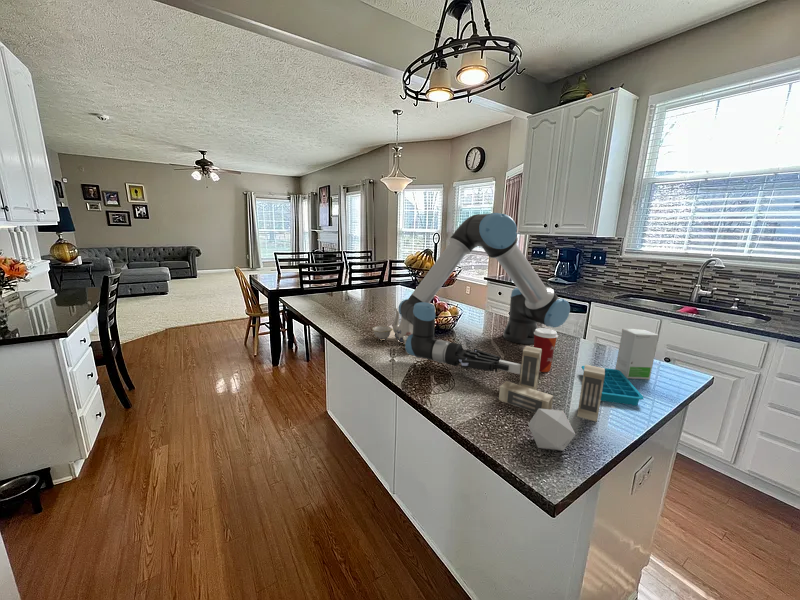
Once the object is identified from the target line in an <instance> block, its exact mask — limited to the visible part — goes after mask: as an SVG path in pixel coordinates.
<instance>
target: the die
mask: <svg viewBox="0 0 800 600" xmlns="http://www.w3.org/2000/svg"><path fill="white" fill-rule="evenodd" d="M527 425H528V427H529V430H530V433H531V434H532V437H533V440H534V442H535V444H536V446H537V448H538V449H546V450H553V451H561V452H562V451H564V450H566V448H567V446H568V445H569V444H570V442H571V441H572V440H573V439H574V437H575V436H576V433H575V430H574V429H573V427H572V425H571V423H570V421H569V419H568V417H567V415H566V413H565V412H564V410H558V409H552V410H549V409H538V410H537V412H536V413H534V415H533V416H532V418H531V419H530V421H529V422H528V424H527Z"/></svg>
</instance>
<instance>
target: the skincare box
mask: <svg viewBox="0 0 800 600" xmlns="http://www.w3.org/2000/svg"><path fill="white" fill-rule="evenodd" d="M658 341H659V334H658V333H656V332H652V331H649V330H647V329H638V328H622V329H621V336H620V342H619V346H618V353H617V356H616V357H617V358H616V362H615V368H614V369H616V370H619V371H621V372H622V373H623V374H624V376H625V377H626V378H627V379H631V380H632V379H634V380H650V379H651V375H652V371H653V366H654V361H655V357H656V351H657V345H658Z"/></svg>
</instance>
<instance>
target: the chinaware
mask: <svg viewBox="0 0 800 600" xmlns="http://www.w3.org/2000/svg"><path fill="white" fill-rule="evenodd" d="M394 310H395V316H394V318H393V319H394V320H393V322H392V327H390V326H389V325H385V326H383V325H376V326H375V327H371V330H372V331H373V334H374V337H375V338H377V339H378V340H379V339H386V340H387V339H388V338H389V337H390V336H391V331H393V333H394V337H395V339H396V340H397V341H398V340H399V341H400V342H404V343H405V344H406V340H407V338H408V336H409V335H411V334H413V325H412V324H411V323H410V322H409V321H407V320H405V319H404V318H403V317H402V316H401V315H400V313H399V310H398V308H394ZM400 316H401V317H400ZM400 318H401V319H400ZM399 321H400V323H399ZM405 344H404V345H405Z"/></svg>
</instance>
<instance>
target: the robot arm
mask: <svg viewBox="0 0 800 600" xmlns="http://www.w3.org/2000/svg"><path fill="white" fill-rule="evenodd" d="M517 231H518V228H517V224H516V222H515V220H514V219H513V218H512V217H511V216H510V215H508V214H505V213H502V212H500V213H499V212H492V213H479V214H473V215H471V216H469V217H467V218H466V219H465V220H464V221H463V222H462V223H461V224H460V225H459V226H458V227H457V228H456V230H455V231H454V232H453V234H452V235H451V236H450V238H449V239H448V240H449V243H448V245H447V246H446V248H445V249H444V250H443V251H442V253H441V254H440V255H439V257H438V258H437V260H436V261H435V263H434V264H433V265H432V266H431V268H430V269H429V271H427V273H426V274H425V276H424V278H423V279H421V281H420V283H419V284H417V287H416V288H415V289H414V291H413V292H412V293H411V295H410V296H409V298H406V299H404V300H401V302H400V303H399V305H398V307H397V309H398V311H399V316H402V317H403V318H404V319H405V320H407V321H409V322H410V323H411V324H412V325H413V334H411V335H409V336H408V338H407V340H406V344H404V348H405V352H406V353H407V354H408V355H410V356H414V357H416V358H420V359H425V360H430V361H433V362H437V363H439V364H447V365H450V366H453V367H458V366H459V365H460V364H461V366H460V367H461V368H462V369H472V370H473V369H474V370H480V371H481V370H482V371H488V372H494V373H497V372H498V370H500V371H503V372H508V373H512V374H517V375H520V374H521V365H522V363H517V362H512V361H508V360H503V359H501V356H499V355H496V354H492V353H489V352H486V351H483V350H480V349H478V348H473V350H472V349H464V348H463V345H462V344H460V343H457V342H450V341H448V340H445V339H444V340H443V339H437V338H435V328H436V327H435V325H436V307H435V305H434V304H433V303H431V301H432V300H433V299H434V297H435V296H436V294H438V292H439V291H440V289H441V288H442V286H444V284H445V282H447V280H448V279H449V278H450V276H451V274H452V273H453V272H454V271H455V269H456V268H457V267H458V266H459V264H460V263H461V261H462V260H463V259H464V257H465V256H466V255H470V254H471V253H472V251H473V250H474V249H475V248H477V247H480V248H482V249H483V251H484V252H485V253H486V254H487V256H488V257H489V258H490V259H496V261H497V262H498V264H499V265H500V266H501V268H502V269H503V270H504V272H505V273H506V274H507V275H508V277H509V279H510V280H511V281H512V283H513V284H514V285H515V287H516V288H514V289H512V290H511V295H510V304H509V315H508V322H507V324H506V326H505V328H504V330H503V334H502V335H503V336H502V337H503V338H504V339H505V340H507V341H508V342H512V343H516V344H520V345H521V344H522V345H534V332H535V329H537V328H539V327H538V324H537V323H539V324H542V325H544V326H546V327H550V328H559V327H561V326H563V325H564V324H565V323H566V321H567V320H568V318H569V316H570V312H571V306H570V305H571V304H570V303H569V302H568V301H567V300H565V298H562V297H559V296H558V295H557V294H556V292H555V291H554V289H553V288H552V287H549V286H546V285H545V284H544V282H543V281H542V279H541V278H540V276H539V275H538V273H537V272H536V271H535V269H534V268H533V266H532V265H531V263H530V261H529V260H528V259H527V258H526V256H525V254H524V253H523V251H522V250H521V249H520V247H519V246H518V244H517V243H518V240H519V238H518V236H517V235H518V232H517Z"/></svg>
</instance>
